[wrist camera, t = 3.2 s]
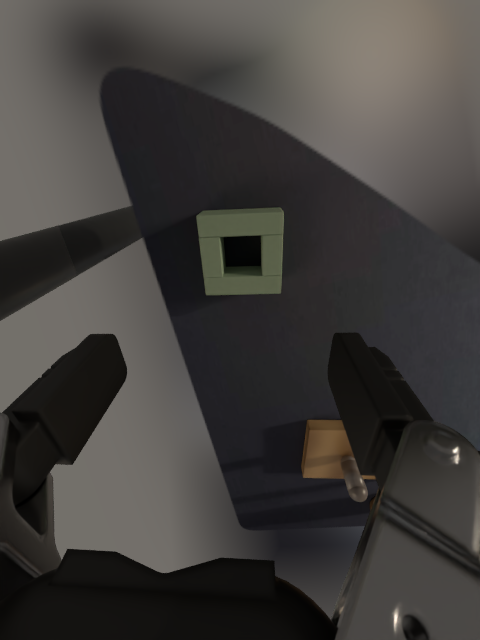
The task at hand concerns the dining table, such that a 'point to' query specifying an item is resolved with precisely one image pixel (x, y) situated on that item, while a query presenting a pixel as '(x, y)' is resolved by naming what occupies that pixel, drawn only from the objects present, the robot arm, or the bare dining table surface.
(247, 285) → the green square ring block
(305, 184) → the dining table surface
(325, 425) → the base pad
